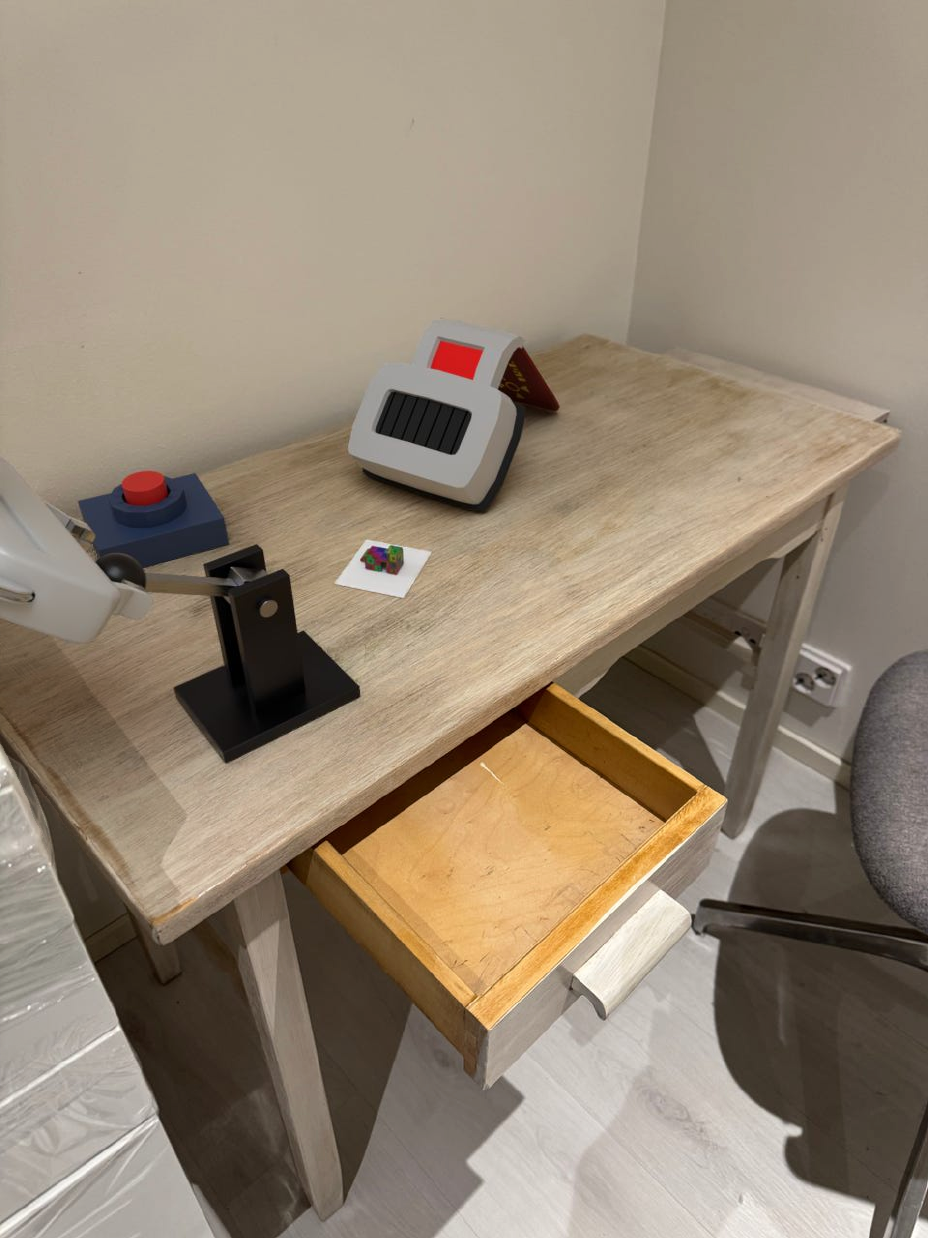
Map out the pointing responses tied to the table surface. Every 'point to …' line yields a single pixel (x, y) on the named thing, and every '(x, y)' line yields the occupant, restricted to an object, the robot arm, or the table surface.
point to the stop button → (144, 488)
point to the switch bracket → (261, 665)
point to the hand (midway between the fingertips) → (114, 570)
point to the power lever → (174, 578)
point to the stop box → (156, 523)
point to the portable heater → (449, 414)
